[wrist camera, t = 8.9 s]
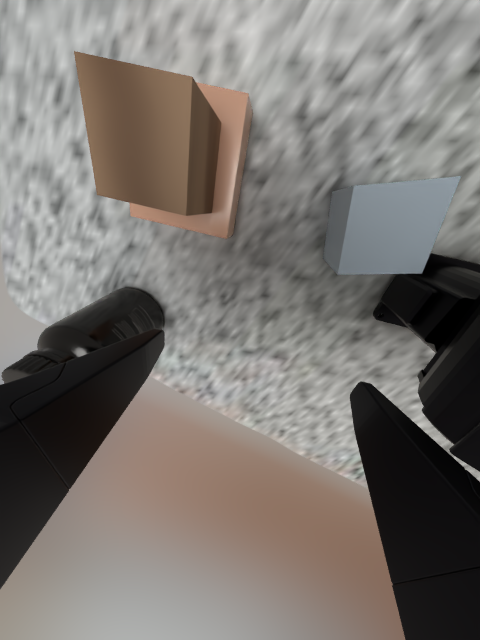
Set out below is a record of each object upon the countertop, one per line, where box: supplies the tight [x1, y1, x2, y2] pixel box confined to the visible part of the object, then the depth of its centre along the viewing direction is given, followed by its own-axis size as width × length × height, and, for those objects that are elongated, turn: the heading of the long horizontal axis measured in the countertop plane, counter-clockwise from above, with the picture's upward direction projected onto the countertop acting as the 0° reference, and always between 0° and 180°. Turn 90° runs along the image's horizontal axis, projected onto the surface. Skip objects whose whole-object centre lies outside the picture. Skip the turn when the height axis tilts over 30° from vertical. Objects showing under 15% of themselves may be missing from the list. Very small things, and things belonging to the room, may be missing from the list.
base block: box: [130, 82, 253, 239], centre depth 15 cm, size 8×8×3 cm
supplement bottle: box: [2, 288, 163, 383], centre depth 19 cm, size 7×7×12 cm
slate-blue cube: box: [323, 176, 461, 275], centre depth 14 cm, size 5×5×5 cm
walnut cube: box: [74, 51, 221, 216], centre depth 11 cm, size 5×5×5 cm
